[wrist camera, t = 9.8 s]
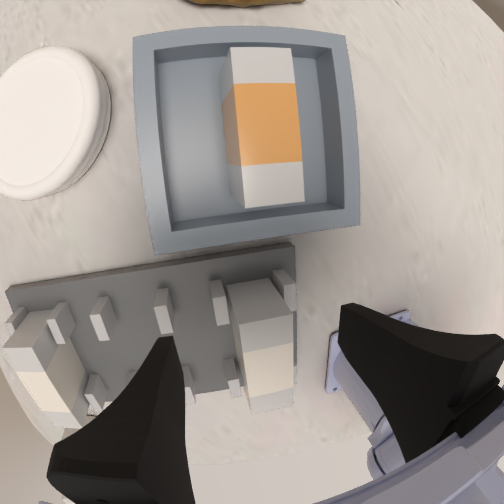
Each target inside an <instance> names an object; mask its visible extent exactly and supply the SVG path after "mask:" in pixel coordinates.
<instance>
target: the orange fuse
mask: <svg viewBox="0 0 504 504" xmlns="http://www.w3.org/2000/svg"><path fill="white" fill-rule="evenodd" d="M219 82H220V93H221V104H222V115H223V126H224V137H225V147H226V157H227V167H228V177H229V187H230V196H232V197H233V198H234V199H235V200H236V201H237V202H239V203H240V204H241V205H242V206H243V207H244V208H253V207H261V206H269V205H277V204H286V203H295V202H304V201H305V198H304V180H303V164H302V150H301V137H300V126H299V115H298V105H297V95H296V86H295V77H294V69H293V61H292V53H291V48H276V47H230V49H229V52H228V54H227V56H226V59H225V61H224V64H223V66H222V69H221V71H220V74H219Z"/></svg>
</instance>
